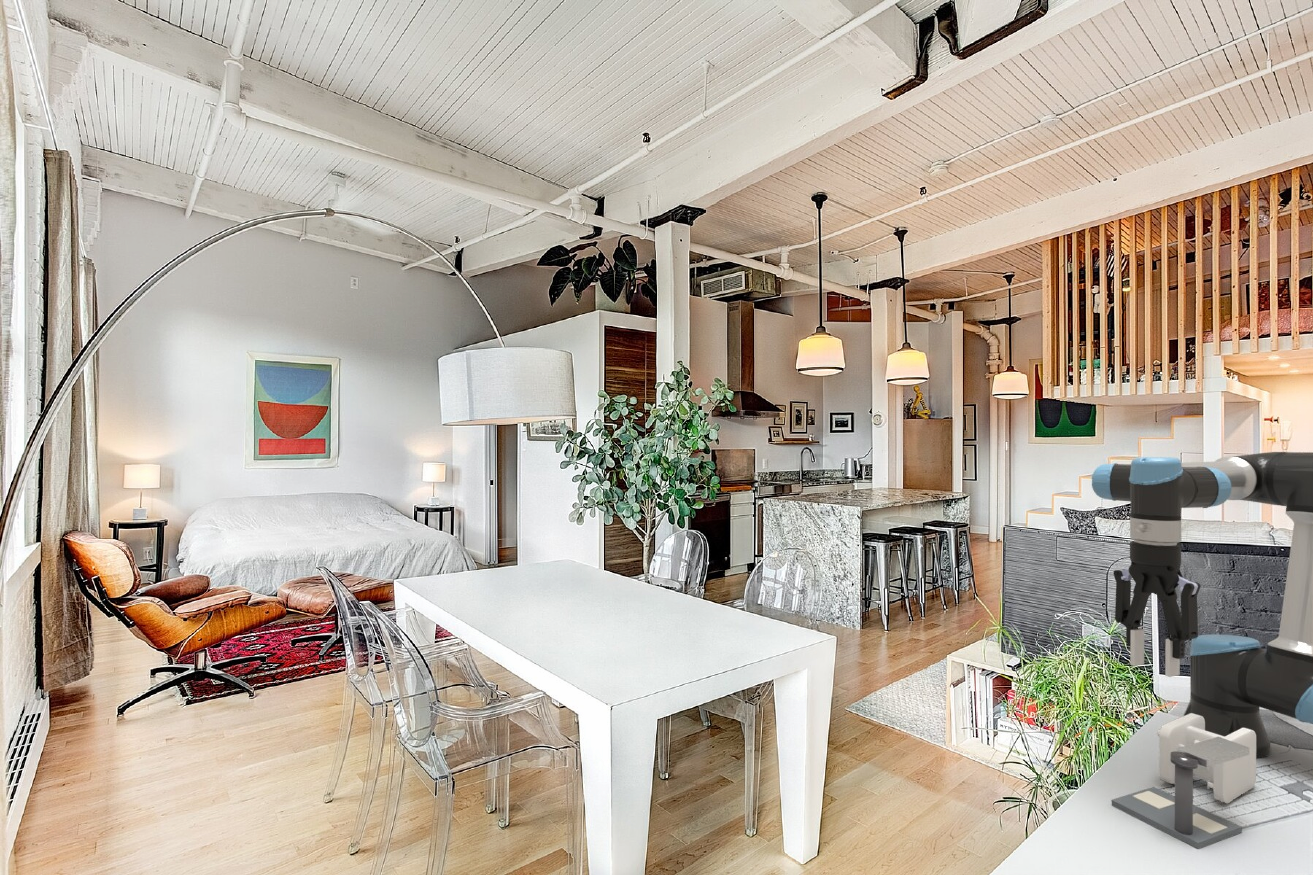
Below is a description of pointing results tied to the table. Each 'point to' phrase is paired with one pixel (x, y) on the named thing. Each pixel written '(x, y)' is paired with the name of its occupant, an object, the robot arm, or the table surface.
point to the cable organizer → (1221, 777)
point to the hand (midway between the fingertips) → (1154, 669)
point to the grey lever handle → (1208, 753)
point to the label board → (1169, 819)
